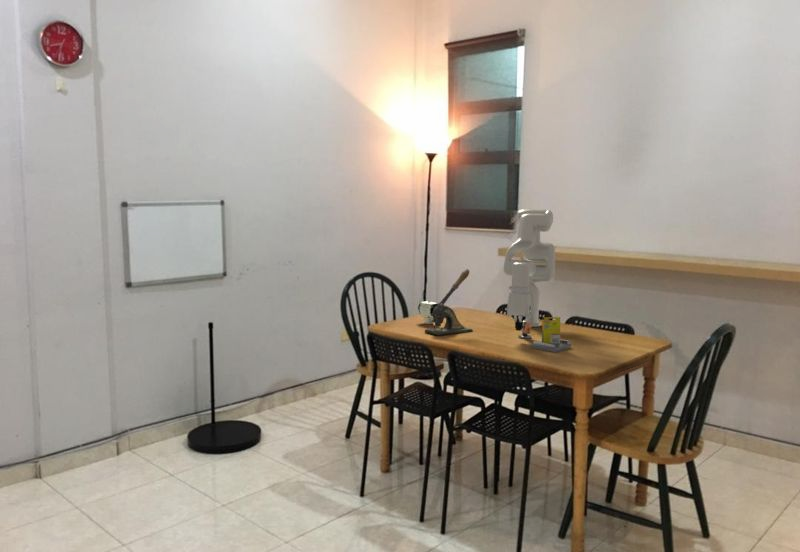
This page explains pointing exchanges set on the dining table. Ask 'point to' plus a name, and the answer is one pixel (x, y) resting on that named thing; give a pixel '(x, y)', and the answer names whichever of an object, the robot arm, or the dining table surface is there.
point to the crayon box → (551, 330)
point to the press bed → (551, 346)
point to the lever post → (524, 335)
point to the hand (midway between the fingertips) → (518, 330)
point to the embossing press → (448, 313)
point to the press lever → (527, 326)
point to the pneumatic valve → (427, 310)
